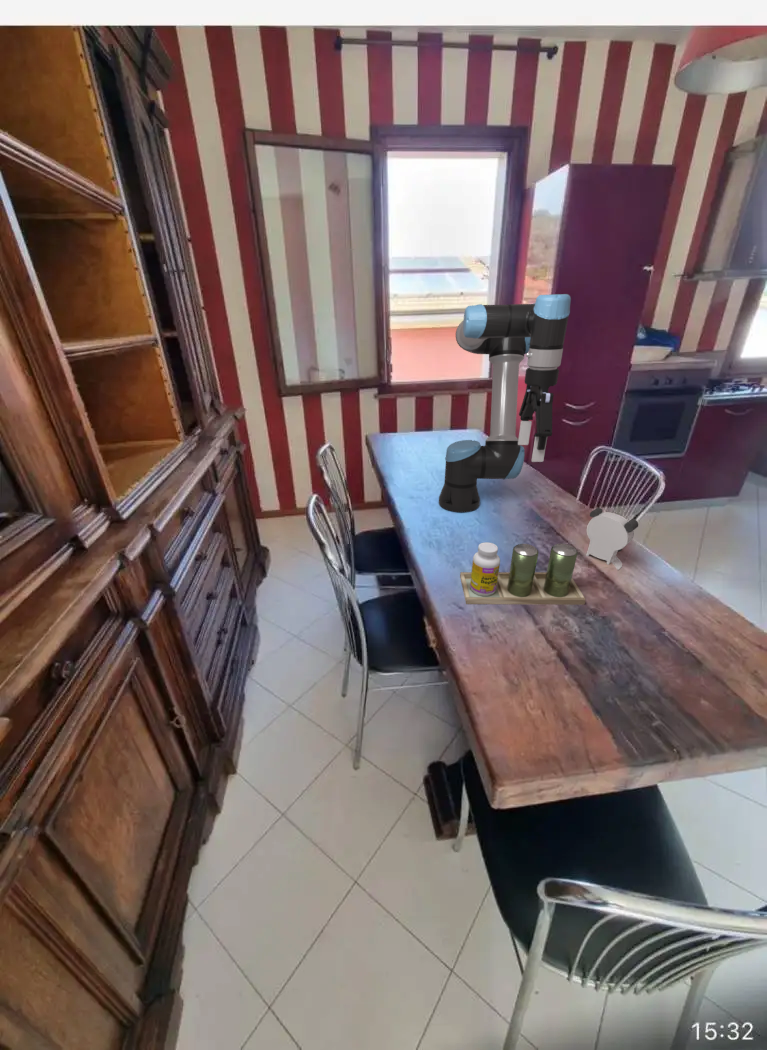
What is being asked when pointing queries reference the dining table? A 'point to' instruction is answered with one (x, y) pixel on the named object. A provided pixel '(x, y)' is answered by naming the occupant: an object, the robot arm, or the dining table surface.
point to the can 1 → (522, 570)
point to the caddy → (534, 598)
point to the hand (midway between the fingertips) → (529, 452)
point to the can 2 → (560, 570)
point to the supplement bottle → (485, 569)
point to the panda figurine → (609, 535)
